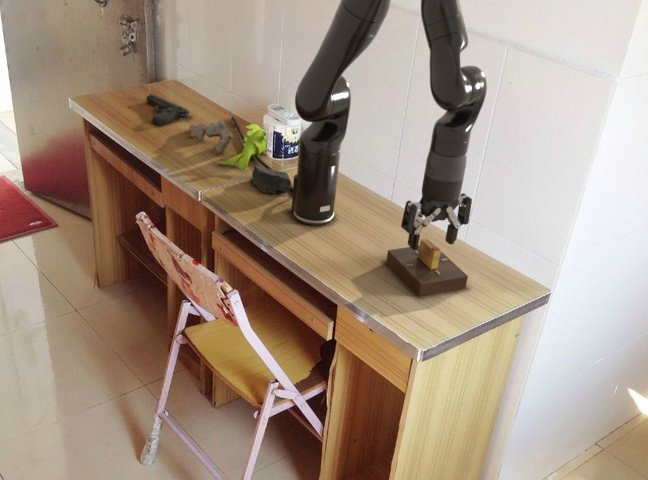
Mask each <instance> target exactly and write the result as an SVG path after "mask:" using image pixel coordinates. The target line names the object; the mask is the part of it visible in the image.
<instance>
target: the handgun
mask: <svg viewBox="0 0 648 480" xmlns="http://www.w3.org/2000/svg"><path fill="white" fill-rule="evenodd" d="M145 98H146V102H149V103H151V104H153V105H155V106H154V110H155V111H156V112H157V113H156V114H154V115H153V117H152V122H153V123H155V124H157V125H159V126H162V125H166V124H169V123H170V122H172V121H173V120H175V119H177V118H178V119H179V118H180V119H188V116H189V115H190V110H189V109H187V108H185V107H183V106H180V105H178V104H176V103H173V102H172V101H169V100H167V99H165V98H162V97H160V96H158V95H156V94H153V93H150V94H148V95H147V96H146V97H145Z"/></svg>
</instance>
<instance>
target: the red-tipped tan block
mask: <svg viewBox="0 0 648 480" xmlns="http://www.w3.org/2000/svg"><path fill="white" fill-rule="evenodd" d="M418 246H419V251H418V258H419V259H420V260H422V261H423V262H424V263H425V264H426V265H427V266H428V267H429V268H430V269H437V268H438V262H439V257H440V252H442V250H441V249H440V248H439V247H438V246H436V245H435V244H434V243H433V242H432V241H431V240H430V239H428V238H425V237H424V238H420V239H419V244H418Z"/></svg>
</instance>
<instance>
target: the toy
mask: <svg viewBox="0 0 648 480" xmlns="http://www.w3.org/2000/svg"><path fill="white" fill-rule="evenodd" d="M245 128H246V129H248V130H247V132H246V136H244V137H245V138H244V141H245V143H244V142H243V149H242V152H241V153H238V154H236V155H234V156H232V157H230V158H228V159H226V160H225V161H223V162H219V165H220V166H221V165H226V166H235V167H237V168H239V169H240V170H247V169H248V165H249V161H250V159H252V158H253V160H255V159H256V158H255V156H257V157H259V158H260V155H261V154H262V155H264V153H267V152H268V150H267V151H266V149H267V140H266V133H265V132H264V130H265V129H263V128H260V126H259V125H258V124H256V123H252V124H251V123H250V124H249V125H246V126H245ZM239 158H240V159H239Z"/></svg>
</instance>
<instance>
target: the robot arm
mask: <svg viewBox="0 0 648 480" xmlns="http://www.w3.org/2000/svg"><path fill="white" fill-rule="evenodd" d="M391 1H392V0H340V1H339V4H338V6H337V8H336V10H335V13H334V15H333V17H332V20H331V23H330V25H329V27H328V30H327V31H326V33H325V36H324V38H323V40H322V42H321V44H320V46H319V49H318V50H317V52H316V54H315V57H314V58H313V60H312V62H311V64H310V65H309V66H308V68H307V70H306V72H305V73H304V75H303V76H302V78H301V80H300V82H299V84H298V85H297V89H296V92H295V96H294V105H295V106H294V107H295V110H296V113H297V115H298V116H299V117H300V118H301V120H303V121H305V122H307V123H310V124H309V126H307V127H306V128H305V129H303V131H302V132H301V134H300V136H299V143H298V144H299V147H298V158H297V159H298V161H297V172H296V174H294V176H293V183H292V187H291V188H290V189H289V190H290V191H291V193H292V194H291V195H292V196H291V210H290V212H291V214H293V217H294V219H295V220H296V221H298V222H299V223H303V224H305V225H309V226H310V225H311V226H323V225H327V224H329V223H331V222H332V221H333V220H334V218H335V217H334V216H335V203H336V194H337V185H338V178H339V177H338V176H339V167H340V157H341V149H342V143H343V142H344V139H345V137H346V134H347V129H348V124H349V117H350V112H351V103H352V95H351V94H352V93H351V88H350V85H349V82H348V81H347V79H346V78H345V77H344V76H343V74H344V73H345V71H346V70H347V69H348V68H349V67H350V66H351V65H352V64H353V63H354V62H355V61H356V60H357V59H358V58H359V57H360V56H361V55H362V54H363V53H364V52H365V51H366V50H367V49H368V47H369V46H370V45H372V43H373V41H374V40H375V38H376V37H377V35H378V34H379V32H380V30H381V28H382V26H383V24H384V22H385V20H386V18H387V16H388V14H389V11H390V8H391ZM420 17H421V23H422V27H423V32H424V34H425V39H426V43H427V47H428V49H429V87H430V93H431V96H432V98H433V100H434V102H435V104H436V105H437V106H438V107H439V108H440V109H442V110H444V111H445V113H444V114H443V115H441V117H439V118H437V120H436V121H435V123H434V125H433V128H432V133H431V140H430V146H429V149H428V154H427V157H426V161H425V168H424V173H423V180H422V185H421V198H420V200H419V201H412V200H407V201H405V205H404V209H403V210H404V211H403V216H402V219H401V225H400V227H401V228H402V229H403V230H404V231H406V233H407V234H408V238H407V245H408V247H410V248H411V249H413V250H417V249H418V246H419V245H420V239H421V234H420V233H421V232H422V231H423V229H425V228H426V227H428V226H429V225H430V223H434V222H435V223H436V222H438V221H446V220H447V221H448V223H449V224H447V228H446V233H445V242H446V243H447V244H448V245H454V244H455V242H456V240H457V238H458V234H459V229H460V228H461V226H463V225H464V226H466V225H469V223H470V216H471V209H472V204H473V203H472V202H473V199H472V198H471V196H469V195H467V194H466V193H465V192H463V193H462V188H463V183H464V178H465V174H466V173H465V172H466V168H467V161H468V159H467V156H468V151H469V150H468V149H469V147H470V146H469V144H470V140H471V133H472V130H473V128H474V126H475V124H476V122H477V120H478V118H479V115H480V112H481V110H482V108H483V106H484V103H485V101H486V96H487V91H488V83H487V77H486V75H485V73H484V71H483V70H482V69H481V68H479V67H478V66H476V65H464V66H462V65H461V53H462V52H464V51H465V50H466V49H467V48H468V46H469V35H468V31H467V28H466V23H465V20H464V16H463V10H462V7H461V3H460V0H420ZM231 120H232V121H233V123H234V125H235V128H236V129H237V130H238V134H239V136H240V138H241V139H242V141H243V144H244V143H245V141H244V138H245V137H246V136H245V135H244V132H243V131H242V129H241V127H240V124H239V123H238V121H237V119H236V118H235V116H232V117H231ZM255 159H256V160H257V162H258V163H259V164H261V165H262V166H263V168H266V169H272V170H274V169H273V168H271V166H269V164H267V163H266V162H265V161H263V160H262V159H261V158H260V156H259V157H257V156H255ZM457 207H458V209H457V215H456V213H455V209H456V208H457ZM423 217H424V218H425V219H423Z"/></svg>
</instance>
